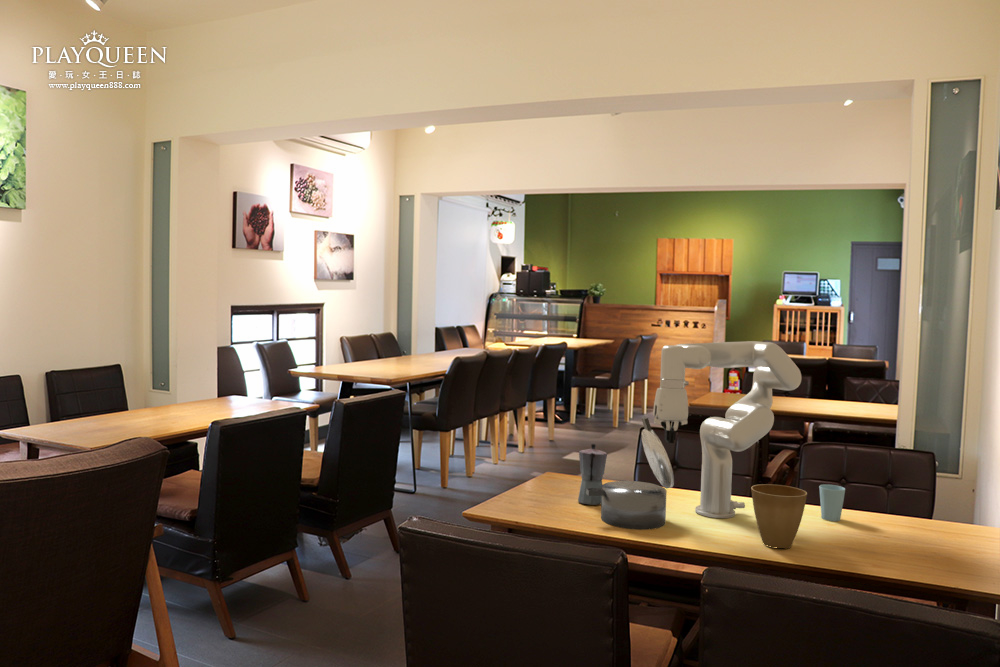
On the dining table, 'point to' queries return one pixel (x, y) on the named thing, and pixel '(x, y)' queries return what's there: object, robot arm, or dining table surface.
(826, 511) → the cup
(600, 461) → the moka pot
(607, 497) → the cooker pot
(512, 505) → the dining table surface
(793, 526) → the plant pot
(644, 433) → the cooker lid
